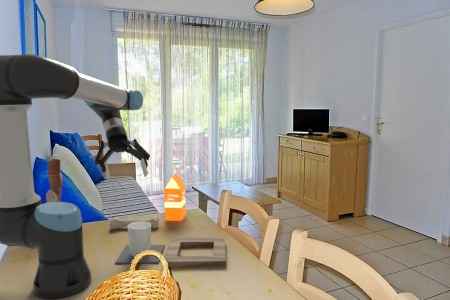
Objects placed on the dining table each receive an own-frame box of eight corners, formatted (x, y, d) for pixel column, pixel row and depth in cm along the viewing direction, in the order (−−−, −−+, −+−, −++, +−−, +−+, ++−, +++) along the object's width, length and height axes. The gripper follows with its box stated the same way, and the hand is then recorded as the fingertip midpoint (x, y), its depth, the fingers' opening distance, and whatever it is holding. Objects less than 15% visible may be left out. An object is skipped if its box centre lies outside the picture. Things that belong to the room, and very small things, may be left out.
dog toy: (160, 225, 151) (159, 214, 151) (158, 230, 145) (158, 218, 145) (112, 226, 150) (111, 215, 149) (108, 231, 144) (108, 219, 143)
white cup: (126, 250, 123) (125, 223, 121) (148, 246, 126) (148, 220, 125) (130, 259, 116) (129, 230, 114) (154, 255, 119) (153, 227, 118)
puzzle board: (225, 266, 112) (225, 260, 111) (163, 267, 111) (162, 261, 111) (224, 242, 131) (224, 237, 131) (171, 243, 131) (171, 237, 131)
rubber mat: (158, 263, 114) (158, 261, 114) (115, 264, 114) (115, 262, 114) (164, 246, 128) (164, 244, 128) (126, 246, 128) (126, 245, 128)
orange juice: (185, 214, 165) (185, 172, 162) (181, 220, 156) (180, 176, 153) (169, 214, 166) (168, 172, 163) (164, 220, 157) (163, 176, 154)
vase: (54, 235, 139) (49, 161, 135) (40, 233, 141) (34, 160, 137) (73, 227, 149) (69, 157, 145) (59, 225, 151) (55, 156, 147)
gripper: (144, 136, 146) (158, 178, 135) (80, 140, 133) (90, 186, 123) (148, 124, 141) (163, 167, 130) (82, 127, 128) (92, 174, 117)
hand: (128, 176), depth 126 cm, fingers open, 13 cm apart
